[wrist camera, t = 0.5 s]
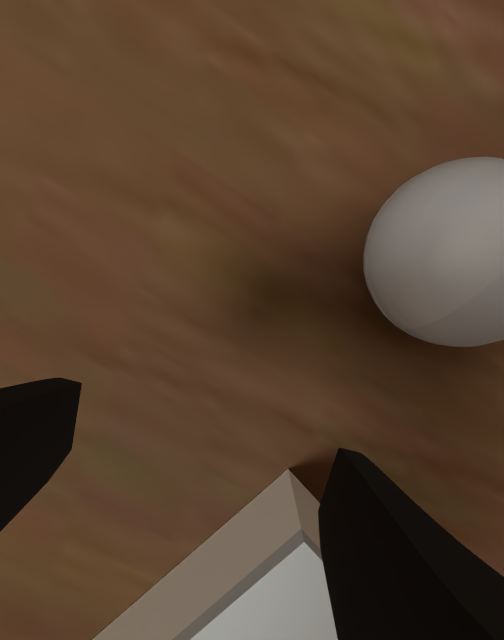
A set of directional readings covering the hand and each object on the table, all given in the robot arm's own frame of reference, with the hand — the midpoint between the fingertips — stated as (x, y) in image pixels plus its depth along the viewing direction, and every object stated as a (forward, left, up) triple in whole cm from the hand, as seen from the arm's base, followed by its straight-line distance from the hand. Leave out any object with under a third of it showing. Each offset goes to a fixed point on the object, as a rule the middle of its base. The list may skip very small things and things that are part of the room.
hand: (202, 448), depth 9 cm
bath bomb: (+12, -3, -11) cm, 16 cm away
